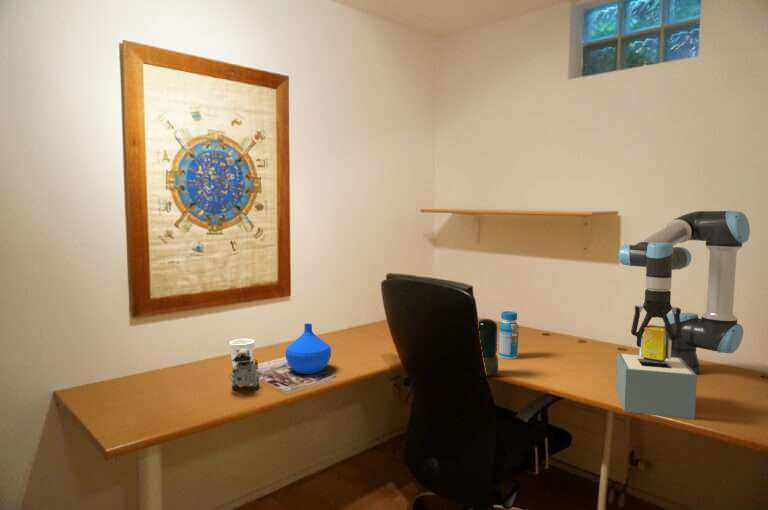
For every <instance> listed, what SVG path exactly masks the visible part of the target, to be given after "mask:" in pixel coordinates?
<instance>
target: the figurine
mask: <svg viewBox="0 0 768 510" xmlns="http://www.w3.org/2000/svg"><path fill="white" fill-rule="evenodd" d="M236 351H238V350H236ZM251 357H252V353H251V352H250V350H249V349H248V348H240V350H239V351H238V352H237V354H236V355H235V357H234V359H233V360H232V359H231V362H232V361H235V363H236V365H235V366H234V367H233V366H232V370H231V371H232V373H231V375H230V376H229V377H230V380H231V384H232V385H231V390H235V391H236V390H237V388H238V387H239V386H242V387H243V386H244V387H245V386H250V385H252V391H257V390H258V388H259V387H260V385H261V384H260V381H259V379H260V377H259V374H258V373H257V371H256V370H259V362H258V360H257V359H256V358H254V359H253V360H252V361H251Z"/></svg>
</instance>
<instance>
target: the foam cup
mask: <svg viewBox="0 0 768 510" xmlns="http://www.w3.org/2000/svg"><path fill="white" fill-rule="evenodd" d="M228 343H229V345H228V346H229V347H228V349H229V350H230V351H229V352H230V356H231V357H230V358H231V362H232V363H231V364H232V368H233V367H234V366H235V365H236V363H235V361H232V360H233V359H234V357H235V355H236V354H237V352H238V351H239V350H240V348H248V349H249V350H250V352H251V353H252V357H251V361H253V360H254V359H253V358H254V349H255V340H254V339H251V338H238V339H233V340H230V341H229V342H228ZM236 350H238V351H236Z"/></svg>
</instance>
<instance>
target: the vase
mask: <svg viewBox="0 0 768 510" xmlns="http://www.w3.org/2000/svg"><path fill="white" fill-rule="evenodd" d="M312 324H313V323H309V322H308V323H307V322H306V323H304V327H303V328H304V330H303V332H302V334H301V335H300V336H299V337H298V338H296V339H295V340H294V341H292V342H291V343H290V344H288V345H287V347H286V349H285V353H284V354H285V355H284V356H285V359H286V361H287V363H288V364H287V365H289V366H290V368H291V370H292V371H294V372H296V373H298V374H299V375H300V374H303V375H313V374H317V373H320V372H322V371H323V370H324V369H325V367H326V366H327V365H328V363H329V362H330V359H331V356H332V347H331V346H330V344H328V343H327V342H325V341H324V340H323V339H321V338H320V337H318V336H317V334H315V333H314V332H313V327H312V326H313V325H312Z"/></svg>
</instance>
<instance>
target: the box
mask: <svg viewBox="0 0 768 510" xmlns="http://www.w3.org/2000/svg"><path fill="white" fill-rule="evenodd" d="M616 358H617V359H616V360H617V362H616V382H615V383H616V384H615V392H616V394H617V397H618V399H619V401H620V404H621V407H622V409H623V412H624V413H626V412H627V413H635V414H642V415H643V414H644V415H652V416H659V417H660V416H661V417H671V418H679V419H681V418H682V419H691V420H695V419H696V417H695V416H696V399H697V385H698V384H697V383H698V381H697V380H698V374H695V373H694V372H693V371H692V369H691V368H690V367H689V366H688V365H687V364H686V363H685V362H684V361H683V360H682V359H681V358H677V357H671V360H669V359H667V358H666V359H665V360H664V362H663V363H661V362H655V361H649V360H644V359H643V357H640V355H639V354H636V353H625V352H624V353H622V352H617V357H616Z"/></svg>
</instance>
